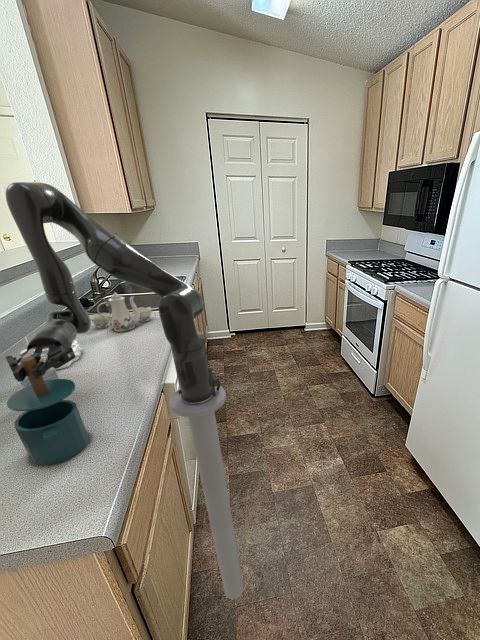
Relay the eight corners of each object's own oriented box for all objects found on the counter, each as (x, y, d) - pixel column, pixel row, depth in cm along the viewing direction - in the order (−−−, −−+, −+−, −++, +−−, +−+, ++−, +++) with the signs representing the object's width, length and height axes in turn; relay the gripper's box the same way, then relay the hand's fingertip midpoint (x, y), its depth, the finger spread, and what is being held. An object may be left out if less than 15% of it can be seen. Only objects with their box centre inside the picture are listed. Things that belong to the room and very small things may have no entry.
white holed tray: (46, 352, 126) (89, 346, 130) (28, 373, 111) (78, 366, 115) (43, 343, 124) (87, 338, 128) (24, 364, 109) (75, 357, 113)
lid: (73, 377, 81) (59, 341, 77) (79, 399, 73) (64, 360, 68) (9, 394, 75) (-10, 356, 70) (8, 421, 66) (-14, 379, 62)
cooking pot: (83, 420, 87) (71, 390, 83) (94, 455, 75) (81, 422, 71) (30, 438, 81) (14, 406, 77) (33, 480, 69) (14, 445, 65)
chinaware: (154, 318, 162) (146, 284, 156) (161, 325, 149) (152, 288, 143) (89, 330, 150) (77, 293, 143) (89, 339, 136) (76, 299, 130)
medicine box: (58, 389, 101) (48, 364, 97) (65, 393, 99) (55, 368, 95) (28, 401, 96) (16, 375, 92) (34, 406, 93) (22, 380, 89)
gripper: (12, 334, 79) (-23, 365, 64) (78, 326, 83) (59, 354, 68) (25, 361, 82) (-6, 398, 68) (88, 352, 86) (71, 385, 72)
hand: (27, 375), depth 68 cm, fingers closed on lid, 2 cm apart
